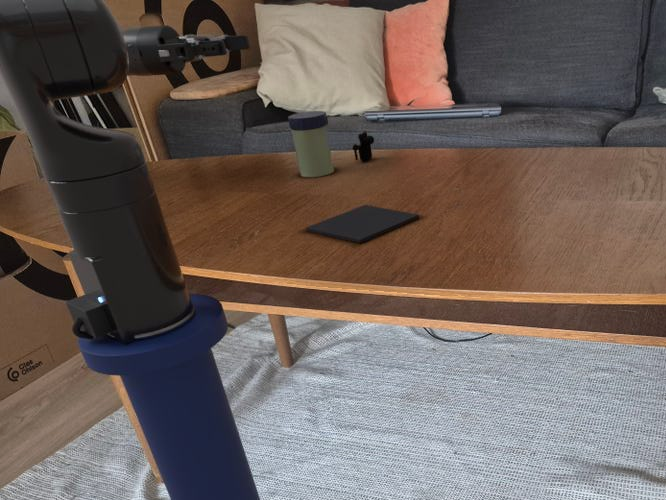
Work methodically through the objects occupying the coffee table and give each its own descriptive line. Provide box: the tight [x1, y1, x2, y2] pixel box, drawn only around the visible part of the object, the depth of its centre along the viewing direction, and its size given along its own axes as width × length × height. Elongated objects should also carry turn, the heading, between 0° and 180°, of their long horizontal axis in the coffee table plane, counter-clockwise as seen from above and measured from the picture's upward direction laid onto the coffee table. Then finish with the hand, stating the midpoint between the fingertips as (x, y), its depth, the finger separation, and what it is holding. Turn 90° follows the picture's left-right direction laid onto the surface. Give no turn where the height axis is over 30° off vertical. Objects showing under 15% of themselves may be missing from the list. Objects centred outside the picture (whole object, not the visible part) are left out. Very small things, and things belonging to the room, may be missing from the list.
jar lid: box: [287, 110, 329, 130], centre depth 116 cm, size 7×7×2 cm
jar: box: [290, 125, 335, 178], centre depth 118 cm, size 6×6×10 cm
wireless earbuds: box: [352, 131, 375, 163], centre depth 124 cm, size 7×2×5 cm, turn 159°
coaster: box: [305, 204, 420, 244], centre depth 92 cm, size 11×11×1 cm
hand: (236, 44), depth 111 cm, fingers open, 8 cm apart
